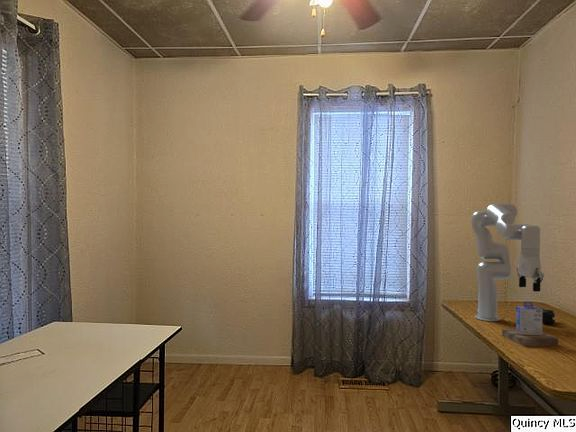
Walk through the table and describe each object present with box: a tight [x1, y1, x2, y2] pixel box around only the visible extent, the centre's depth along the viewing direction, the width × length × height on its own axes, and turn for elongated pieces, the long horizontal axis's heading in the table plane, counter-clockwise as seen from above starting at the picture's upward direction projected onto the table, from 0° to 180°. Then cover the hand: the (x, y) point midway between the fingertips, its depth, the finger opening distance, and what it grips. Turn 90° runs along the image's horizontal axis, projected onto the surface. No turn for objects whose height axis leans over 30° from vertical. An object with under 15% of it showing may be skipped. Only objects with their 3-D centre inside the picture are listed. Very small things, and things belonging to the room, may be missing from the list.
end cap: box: [541, 307, 556, 326], centre depth 225 cm, size 10×7×7 cm
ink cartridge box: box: [515, 301, 543, 335], centre depth 194 cm, size 10×6×14 cm, turn 82°
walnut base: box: [502, 328, 559, 347], centre depth 194 cm, size 16×16×3 cm
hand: (529, 289), depth 194 cm, fingers open, 9 cm apart
